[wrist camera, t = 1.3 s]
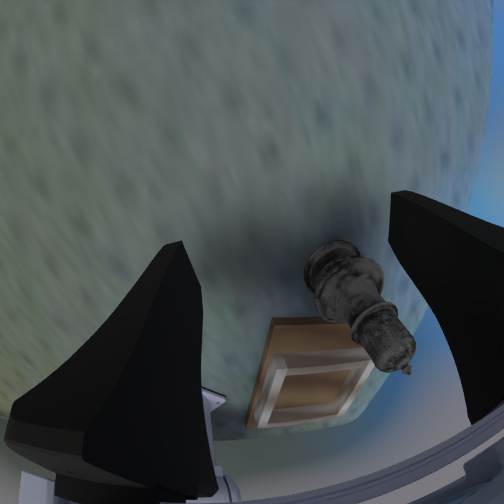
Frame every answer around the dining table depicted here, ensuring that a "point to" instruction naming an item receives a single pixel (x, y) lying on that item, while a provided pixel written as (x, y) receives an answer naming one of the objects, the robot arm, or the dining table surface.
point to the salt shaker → (359, 304)
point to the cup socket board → (306, 373)
